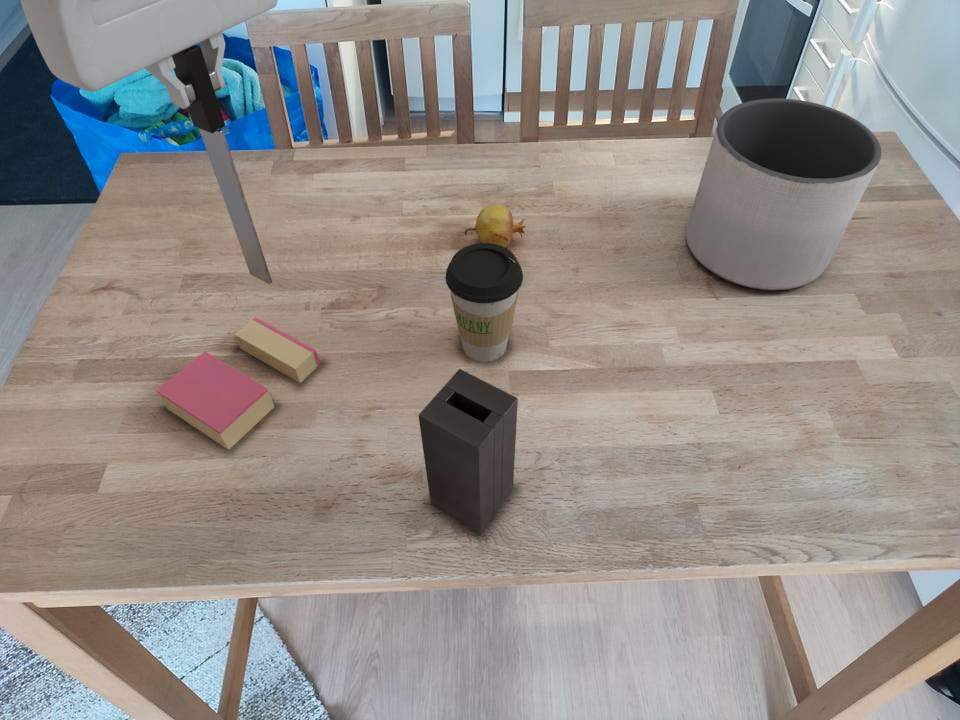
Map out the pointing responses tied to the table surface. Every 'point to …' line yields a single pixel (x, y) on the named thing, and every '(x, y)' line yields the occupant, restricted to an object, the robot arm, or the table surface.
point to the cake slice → (277, 349)
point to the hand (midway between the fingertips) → (199, 96)
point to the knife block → (469, 449)
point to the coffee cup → (484, 297)
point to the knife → (220, 155)
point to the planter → (779, 191)
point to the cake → (216, 399)
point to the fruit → (496, 225)
